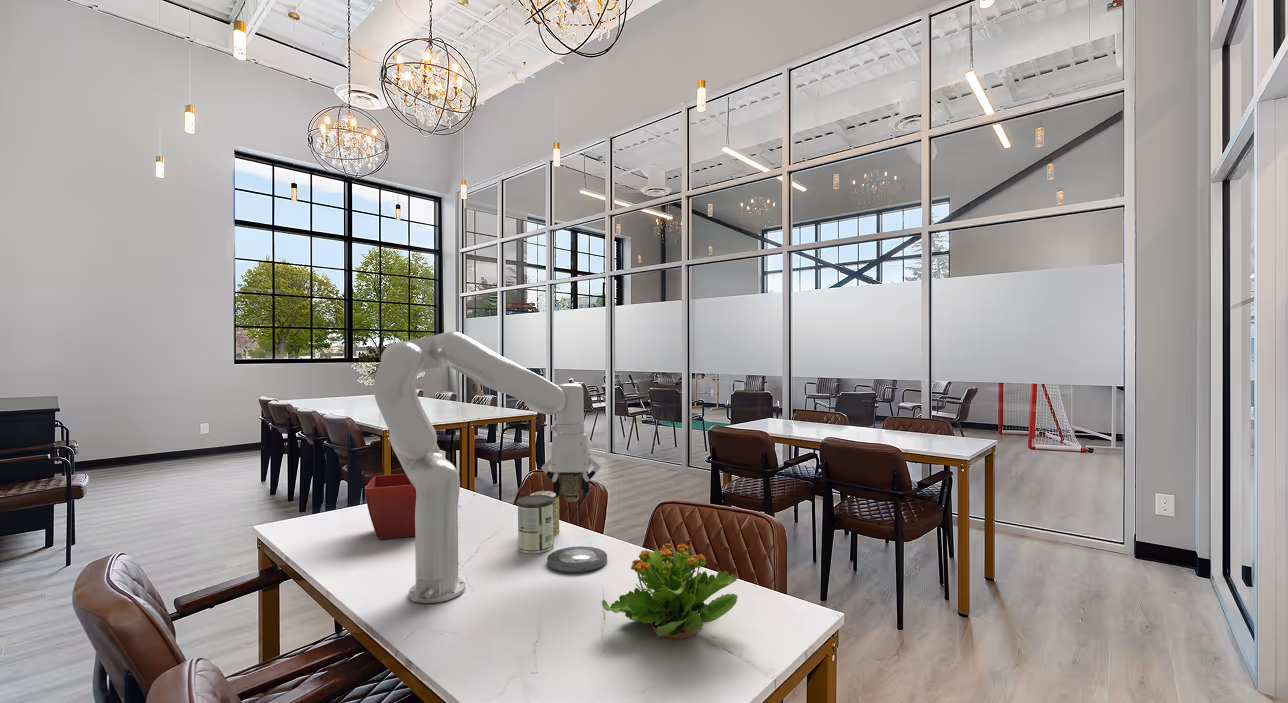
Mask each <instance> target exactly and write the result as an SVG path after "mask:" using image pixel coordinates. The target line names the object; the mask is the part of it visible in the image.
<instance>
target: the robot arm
mask: <svg viewBox="0 0 1288 703" xmlns="http://www.w3.org/2000/svg"><path fill="white" fill-rule="evenodd" d="M445 367H449V368H450V369H453V370H454V371H457V372H459V373H460V374H463V375H464V376H466V377H467V378H469V379H472V380H473V381H475V382H476V383H478V384H481V385H482V386H484V387H486V388H488V389H490V390H493V391H494V392H499V393H502V394H505V395H508V396H511V397H513V398H516V399H517V400H520V401H522V402H524V404H525V406H526V407H527V408H528V409H529V410H531V411H532V412H535V413H539V414H544V415H548V416H552V415H554V416H555V424H553V425H550V431H554V433H555V434H553V436H552V439H551V440H552V441H551V449H550V458H549V460H547V461H546V462H545V463H544V464H543V465H542V466H541V470H542V471H543V472H544V473H545V474H546V476H547V477H548V478H549V479H550V480H551V482H552V483H553V491H554V493H556V497H559V498H560V495H561V491H560V488H559V482H558V474H559V473H583V478H584V482H583V490H582V496H583V497H584V498H586V497H587V496H588V494H589V493H590V480H591V479H592V478H594V476H595V475H596V474H597V473H598V472H599V470H600V469H601V466H602V465H601V464H600V463H599V462H597V461H596V460H595V459H594V458H593V457H592V456H591V453H590V445H589V438H588V435H587V433H586V432H585V412H584V410H585V409H584V408H585V407H584V399H585V398H584V387H583V385H582V384H581V383H577V382H576V383H574V382H573V383H571V382H569V383H568V382H567V383H560V384H555V383H553V382H551V381H550V380H548V379H546V378H545V377H543V376H541V375H539V374H537V373H535V372H533V371H531V370H529V369H527V368H526V367H523V366H521V365H519V363H518V364H517V363H516V362H514V361H512V360H510V359H508V358H506V357H504V356H502V355H500V354H499V353H497V352H495V351H493V349H490V348H488V347H487V346H485V345H483V344H482V343H480V342H478V341H476V340H475V339H473V338H471V337H470V336H468V335H466V334H463V333H461V332H459V331H447V332H443V333H438V334H435V335H429V336H426V337H421V338H416V339H411V340H405V341H401V342H395V343H392V344H390V345H388V346H387V347H386V348H385V349H384V350H383V351H382V353H381V356H380V364H379V365H378V367H377V369H376V372H375V374H374V376H375V377H374V381H373V395H374V399H375V402H376V406H377V407H378V409H379V412H380V414H381V415H382V418H383V420H384V423H385V424H386V426H387V428H388V431H389V433H388V435H389V436H388V439H389V444H390V445H391V447H392V449H393V452H394V453H395V455H396V457H397V459H398V461H399V464H400V465H401V467H402V469H403V471H404V474H406V475H407V476H408V478H409V480H410V482H411V483H412V485H413V486H414V487H415V489H416V507H415V536H414V539H415V541H414V542H415V543H414V544H415V545H414V546H415V548H414V549H415V553H414V554H415V555H414V556H415V561H414V562H415V584H414V585H412V586H411V587H410V588H409V590H408V598H409V600H411V601H412V602H415V603H419V604H436V603H437V604H438V603H442V602H446V601H449V600H453V599H454V598H457V597H458V596H460V595H461V594H463V593H464V592H465V590H466V582H465V580H463V579H461V578H459V520H458V519H459V496H460V487H461V481H460V474H459V472H458V469H457V468H456V466H455V465H454V464H453V463H452V462H451V461H450V460H448V459H446V458H445V457H444V455H443V453H442V451H441V449H440V447H439V445H438V443H437V441H438V437H437V436H438V435H437V431H436V429H435V428H434V426H433V424H432V423H431V420H430V419H429V417H428V415H427V413H426V411H425V409H424V407H423V406H422V403H421V401H420V398H419V396H418V394H417V392H416V380H417V377H418V376H419V374H421V373H425V372H429V371H433V370H438V369H441V368H445ZM591 466H592V467H593V469H592V470H590V472H589V469H590V467H591ZM549 467H550V468H549Z"/></svg>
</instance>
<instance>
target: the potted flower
mask: <svg viewBox="0 0 1288 703" xmlns="http://www.w3.org/2000/svg"><path fill="white" fill-rule="evenodd" d="M673 551H674V549H673V548H672V544H670V543H665V544H663V545H662V547H660V549H659V550H658V549H654V550H653V551H651V550H644V549H641V551H640V553H639V554H638V558H639V559H634V560H632V561H631V563H632V565H631V566H630V570H632V571H635V573H637V579H638V582H639V584H640V586H639V584H637V583H635V585H636V587H635V588H634V590H633V591H631V590H628V592H627V593H626V594H621V595H620V596H619V597H618V600H615V601H614V602H612V603H611V605H610V606H609V604H608V601H606V599H603V600H602V602H601V604H602V608H603V609H604V610H605V611H606V612H609V611H610V612H613V613H615V614H617V613H623V614H624V613H625V614H624V616H625V617H626V618H629V620H631V621H632V622H634V621H635V622H641V623H643V624H651V627H652V630H653V633H655V635H656V637H664V638H666V639H673V640H675V639H684V638H686V639H687V638H689V637H692V636H694V635H695V634H697V633H698V632H699V631H701V630H703V626H704V624H705V623H711V622H713V621H716V620H718V619H720V618H721V617H722V616H724V615H725V614H726V613H728V612H729V611H731V610H732V609H733V607H734V606H735V605H736V603H737V602H738V595H737V594H735V593H731V594H730V593H726V594H722V595H720V596H717V597H716V598H715V599H712V600H711V601H710V602H709V603H705V601H707V600H708V599H709V598H710V597H712V596H713V595H714V594H717V593H718V592H719V591H721V590H722V589H725V588H727V587H728V586H731V584H733V583H734V582H736V581H737V579H739V575H738V576H736V575H735V574H733V573H731V574H729V572H728V571H726V570H724V571H723V572H722V570H718V572H717V574H716V575H715V574H710V575H709V576H708V574H707V571H706V570H705V571H703V572H701V571H700V569H701V568H702V567H705V566H706V564H707V562H706V557H705V556H704V554H696V555H695V554H692V555H690V551H689V545H687V544H685V543H680V544H678V545H677V548H676V552H674V554H673ZM695 569H697V572H696V570H695ZM699 571H700V572H699ZM695 573H696V575H695V576H694V574H695ZM693 576H694V577H693ZM642 583H643V584H642ZM643 585H644V586H645V588H644V587H643ZM703 623H704V624H703Z"/></svg>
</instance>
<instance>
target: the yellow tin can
mask: <svg viewBox="0 0 1288 703" xmlns="http://www.w3.org/2000/svg"><path fill="white" fill-rule="evenodd" d="M531 495H547V496H551V497H553V536H554V537H555V536H557V535H558V534H560V496H559V497H556V493H554V490H542V491H541V490H540V491H536V492H532V493H530V495H529V496H531Z"/></svg>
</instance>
